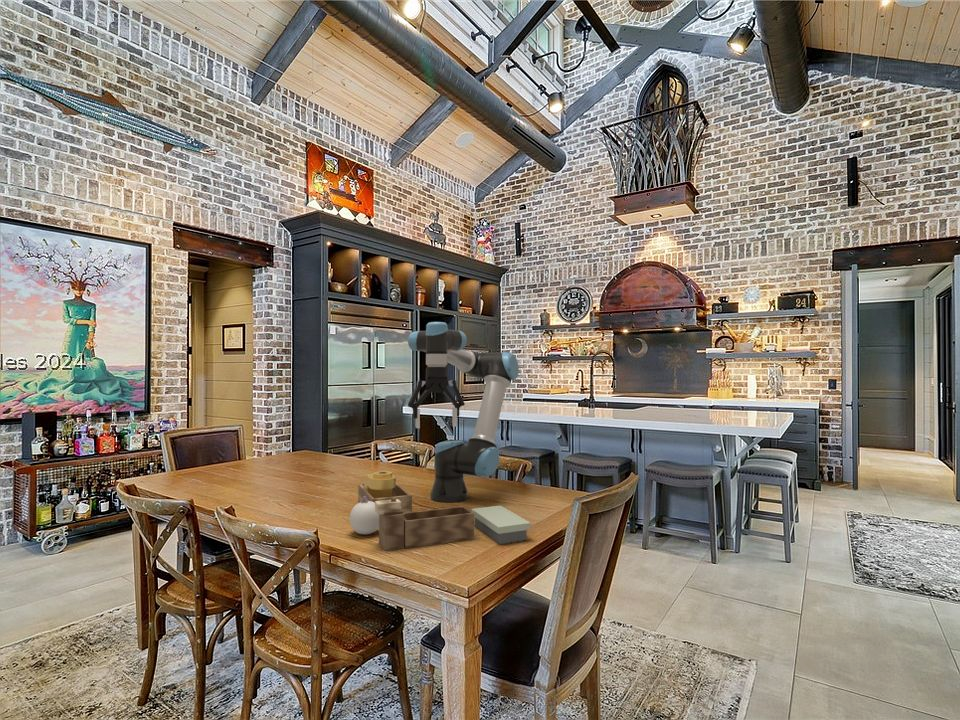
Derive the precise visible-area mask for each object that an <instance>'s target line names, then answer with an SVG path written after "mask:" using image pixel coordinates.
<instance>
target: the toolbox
mask: <svg viewBox="0 0 960 720" xmlns="http://www.w3.org/2000/svg"><path fill="white" fill-rule="evenodd" d="M474 539H475V517H474V513H473V512H471V510H470V509H469V508H467V507H465V506H464V505H463V506H453V507H445V508H435V509H426V510H419V511H418V510H416V511H412V512H407V513H403V510H400V511H391V512H384V514H380V515H379V528H378V543H379V545H380V546H381V548H382V549H383V551H385V552H388V551H394V550H401V549H405V550H406V549H414V548H419V547H427V546H434V545H440V544H441V545H443V544H448V543H453V542H454V543H455V542H462V541H468V540H471V541H472V540H474Z"/></svg>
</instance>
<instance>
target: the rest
mask: <svg viewBox="0 0 960 720" xmlns="http://www.w3.org/2000/svg"><path fill="white" fill-rule="evenodd" d="M474 527H477V528H478V529H479V530H480V531H482V532H483V533H484V534H485V535H487V536H488V537H489V538H491V539H492V540H494V541H495V542H496V543H498V544H499V545H504V544H505V545H506V544H510V543H511V542H512V543H518V542H517V541H519V542H524V541H523V540H526V541H527V531H528V530H523V531H516V532H509V533H502V534H498V533H496V532H495V531H494V530H492V529H491V528H489V527H488V526H486V525H485V524H484V523H482V522H481V521H479V520H478V519H477V518H475V517H474ZM512 543H511V544H512Z"/></svg>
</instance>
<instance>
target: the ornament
mask: <svg viewBox="0 0 960 720" xmlns="http://www.w3.org/2000/svg"><path fill="white" fill-rule="evenodd" d="M364 500H365V501H364ZM349 522H350V523H349V524H350V526H351V528H352V529H353V531H354V532H355V533H358V534H360V535H371V534H373V533H375V532H376V531H377V530H379V515H378V514H377V513H376V512H375V503H374V502H372V501H368V500H367V497H366V496H364V497H363V499H362V501H361V502H360V503H358V502H357V503H356V504H355V505H354V506H353V507H352V509H351V511H350V515H349Z"/></svg>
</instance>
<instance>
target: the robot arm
mask: <svg viewBox="0 0 960 720" xmlns="http://www.w3.org/2000/svg"><path fill="white" fill-rule="evenodd" d="M448 327H449V326H448V324H447V323H446V322H443V321H431V322H430V321H429V322H428V323H427V324H426V325H425V330H416V331H413V332H410V334H409V335H408V339H407V344H408V348H410V350H412V351H415V352H416V351H417V352H424V353H425V365H426V368H425V380H420V379H417V381H416V383H415V384H416V386H415V388H414V391H413V392H412V394H411V396H410V398H409V400H408V402H407V405H406V406H407V407H408V408H411V409H412V417H413V419H414V420H415V422H414V423H415V428H416V429H420V428H421V423H420V422H421V421H420V419H421V416H420V415H421V409H420V408H419V407H420V406H421V404H422V403H423V402H424V401H425V400H426V398H427V397H428V396H429V394H436V393H438V394H442V393H443V395H444V396H446V397H447V399H448V400H449V401H450V403H451V404H452V405H453V406H454V407H452V408H451V410H452V413H451V415H452V417H451V418H452V419H451V420H452V422H451V423H452V424H451V425H452V427H455V428H456V427H458V417H460V409H461V407H463V406H465V404H466V403H465V400H464V399H463V397H462V394H461V393H460V391H459V388H458V386H457V381H456V380H455V379H451V380H448V368H447V365H448V364H450V365H452V366H454V367H456V368H457V370H459V372H462V373H463V374H466V375H468V376H471V377H473V378H477V379H481V380H484V383H485V387H484V391H483V396H482V399H481V404H480V407H479V412H478V416H477V420H476V422H475V423H476V424H475V427H474V428H475V429H474V433H473V435H472V436H470V437H469V439H468V441H467V444H465V441H464V440H449V441H441V442H438V443H437V444H436V445H435V449H434V450H435V451H434V455H435V457H434V461H435V462H434V469H435V470H434V472H435V473H434V476H435V477H434V482H433V485H432V487H431V488H432V489H431V491H430V499H431V500H432V501H435V502H440V503H441V502H442V503H457V502H462V501H465V500H467V499H468V497H469V496H468V489H467V486H466V483H465V479H464V475H467V476H468V475H469V476H475V477H490V476H492V475H493V474H495V473H496V471H497V469H498V466H499V465H500V460H501V459H500V458H501V457H500V451H499V449H498V448H497V446H498V445H497V443H496V441H495V440H496V439H495V437H496V433H497V429H498V424H499V421H500V417H501V416H500V415H501V411H502V407H503V404H504V398H505V395H506V389H507V388H509V387H510V386H511V383H512V381H514V380H516V379H517V378H518V376H519V363H518V358H517V357H516V355H515V354H514V353H512V352H505V351H502V352H473V351H470V350H464V348H465V347H466V346H467V343H468V342H467V341H468V339H467V336H466V334H465V332H463V331H461V330H458V329H449V328H448ZM424 385H425V387H426V388H425V389H424V391H423V393H421V395H420V396H419V394H420V392H421V390H422V387H424ZM448 386H449V387H451V391H452V392H453V394H454V396H455V398H454V396H453V394H451V393H450V391H449V390H448V388H447V387H448ZM418 396H419V397H418Z"/></svg>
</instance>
